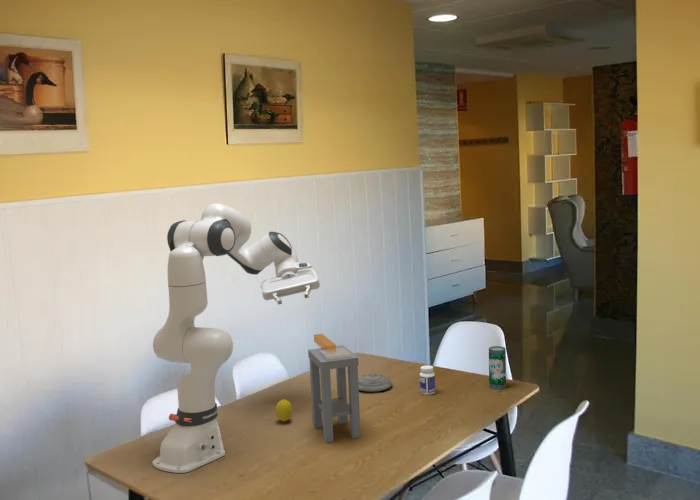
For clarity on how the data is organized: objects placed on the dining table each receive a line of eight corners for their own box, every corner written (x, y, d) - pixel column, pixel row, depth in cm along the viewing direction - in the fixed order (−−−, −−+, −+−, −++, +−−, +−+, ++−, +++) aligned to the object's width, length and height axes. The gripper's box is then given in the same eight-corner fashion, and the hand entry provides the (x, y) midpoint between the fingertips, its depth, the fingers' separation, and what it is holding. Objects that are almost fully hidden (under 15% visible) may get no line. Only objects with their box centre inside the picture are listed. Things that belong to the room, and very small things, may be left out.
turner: (351, 357, 208) (351, 350, 208) (326, 360, 206) (326, 353, 206) (329, 339, 231) (329, 332, 231) (307, 342, 229) (306, 335, 228)
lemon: (290, 425, 224) (288, 402, 223) (274, 424, 225) (273, 401, 224) (294, 418, 229) (293, 396, 228) (279, 418, 230) (278, 396, 229)
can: (488, 389, 251) (488, 350, 249) (490, 383, 257) (489, 345, 255) (505, 389, 249) (504, 350, 247) (506, 384, 255) (505, 346, 253)
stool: (361, 437, 211) (358, 357, 208) (325, 443, 208) (321, 362, 204) (346, 419, 226) (342, 345, 223) (311, 425, 223) (308, 349, 220)
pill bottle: (435, 390, 252) (434, 364, 251) (435, 395, 247) (434, 369, 245) (419, 390, 253) (419, 364, 252) (420, 395, 247) (419, 369, 246)
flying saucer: (347, 385, 262) (346, 372, 262) (381, 379, 268) (380, 366, 268) (364, 397, 249) (363, 382, 248) (399, 390, 255) (398, 376, 254)
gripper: (258, 274, 236) (261, 299, 225) (314, 261, 237) (320, 286, 226) (262, 288, 240) (265, 313, 229) (317, 275, 241) (323, 299, 230)
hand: (293, 299), depth 227 cm, fingers open, 8 cm apart
